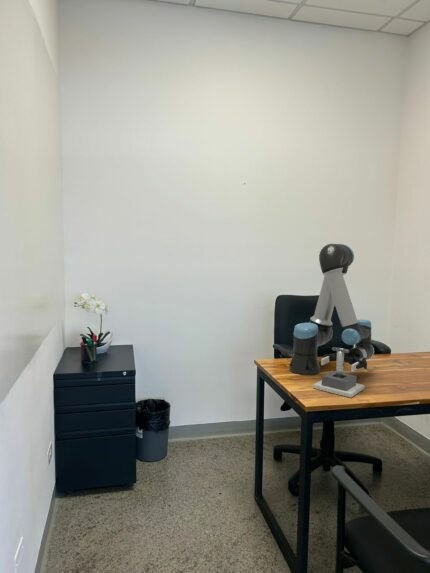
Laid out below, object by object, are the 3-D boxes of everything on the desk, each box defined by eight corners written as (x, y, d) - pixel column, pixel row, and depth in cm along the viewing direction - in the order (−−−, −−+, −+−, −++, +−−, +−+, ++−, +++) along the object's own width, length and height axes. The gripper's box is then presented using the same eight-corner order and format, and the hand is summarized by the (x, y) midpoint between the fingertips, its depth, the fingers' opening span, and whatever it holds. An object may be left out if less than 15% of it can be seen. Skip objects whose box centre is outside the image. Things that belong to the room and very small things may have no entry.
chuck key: (329, 383, 177) (330, 347, 176) (332, 382, 179) (333, 346, 178) (346, 387, 172) (347, 350, 171) (348, 386, 175) (350, 349, 173)
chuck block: (313, 388, 176) (313, 375, 175) (327, 380, 187) (328, 368, 187) (351, 397, 165) (351, 384, 164) (364, 388, 176) (365, 376, 176)
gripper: (382, 369, 181) (365, 380, 165) (330, 358, 197) (309, 367, 181) (383, 352, 180) (366, 362, 164) (330, 343, 196) (310, 351, 180)
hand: (336, 365), depth 173 cm, fingers open, 13 cm apart
